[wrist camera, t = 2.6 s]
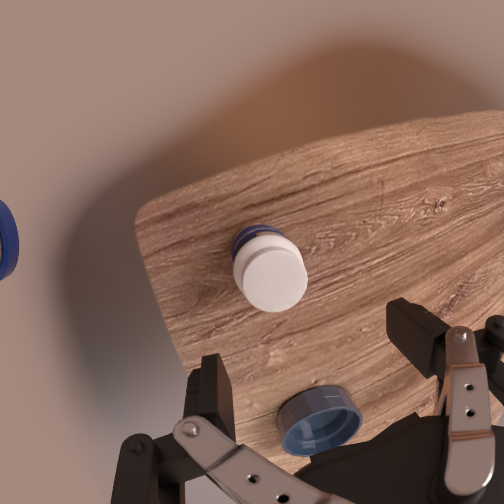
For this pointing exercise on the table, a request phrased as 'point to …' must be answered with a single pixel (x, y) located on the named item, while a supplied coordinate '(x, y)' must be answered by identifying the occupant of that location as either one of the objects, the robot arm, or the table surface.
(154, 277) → the table surface
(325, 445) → the bowl
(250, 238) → the pill bottle
